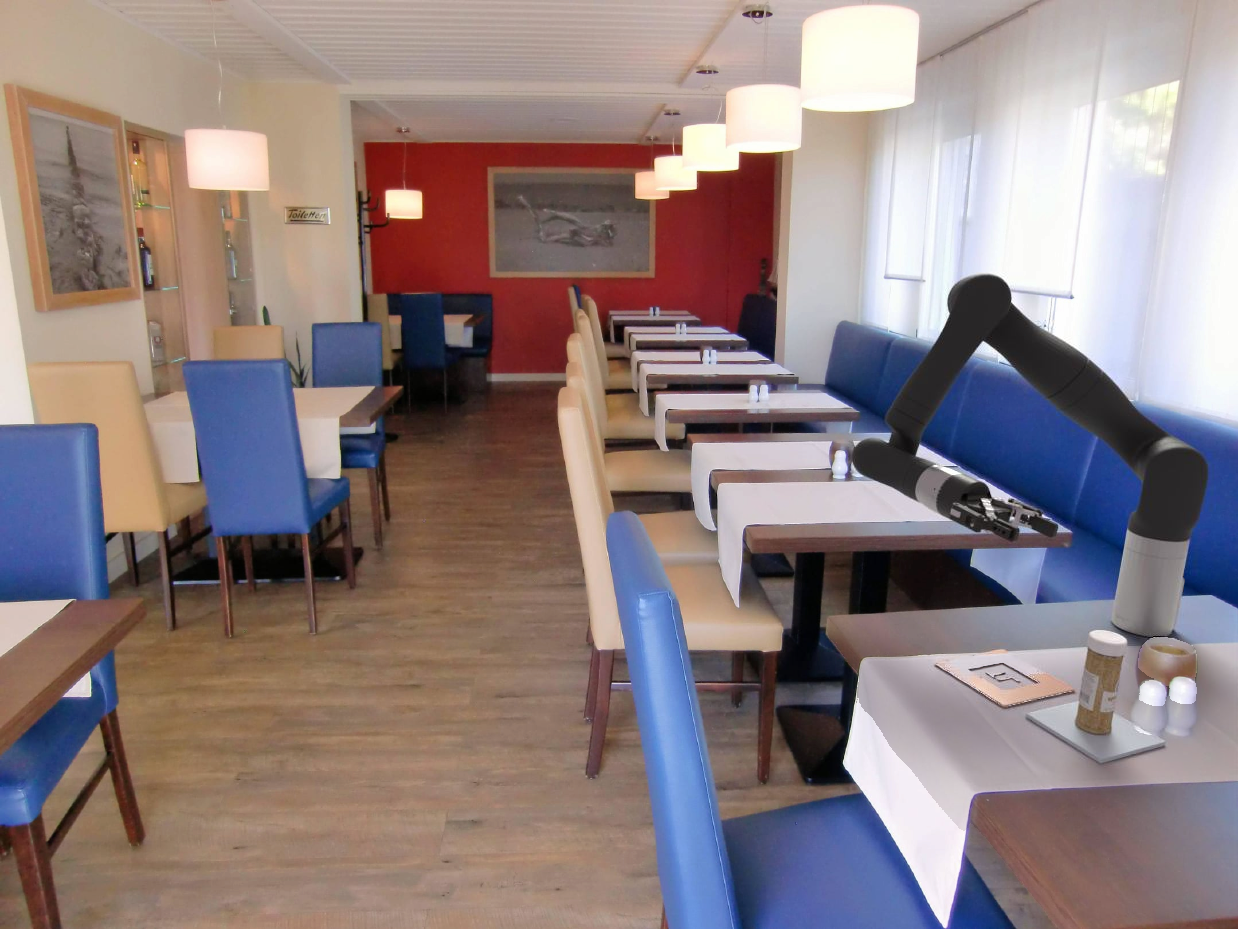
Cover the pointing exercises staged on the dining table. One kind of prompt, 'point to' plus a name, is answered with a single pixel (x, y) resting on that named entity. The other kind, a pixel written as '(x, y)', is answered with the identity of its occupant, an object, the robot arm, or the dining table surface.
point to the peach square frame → (1017, 695)
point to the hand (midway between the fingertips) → (1036, 533)
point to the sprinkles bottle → (1100, 681)
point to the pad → (1096, 746)
